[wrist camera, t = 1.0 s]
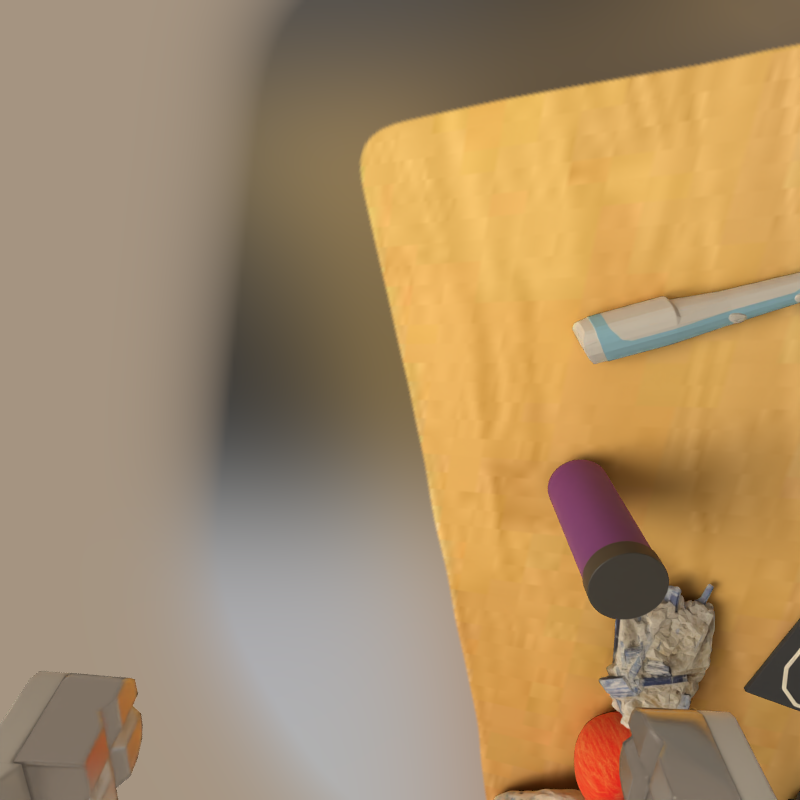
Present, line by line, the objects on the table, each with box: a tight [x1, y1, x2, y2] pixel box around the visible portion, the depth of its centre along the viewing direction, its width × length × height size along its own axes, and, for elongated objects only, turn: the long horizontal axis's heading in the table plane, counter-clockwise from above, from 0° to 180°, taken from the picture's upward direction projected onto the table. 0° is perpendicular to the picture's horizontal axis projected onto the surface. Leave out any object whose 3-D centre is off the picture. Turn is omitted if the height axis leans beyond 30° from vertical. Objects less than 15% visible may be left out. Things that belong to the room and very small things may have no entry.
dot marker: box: [548, 460, 669, 620], centre depth 42 cm, size 4×4×12 cm
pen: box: [572, 272, 800, 364], centre depth 42 cm, size 19×3×3 cm, turn 106°
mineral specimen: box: [599, 584, 715, 729], centre depth 51 cm, size 15×8×4 cm, turn 177°
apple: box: [574, 712, 632, 800], centre depth 53 cm, size 8×8×8 cm
